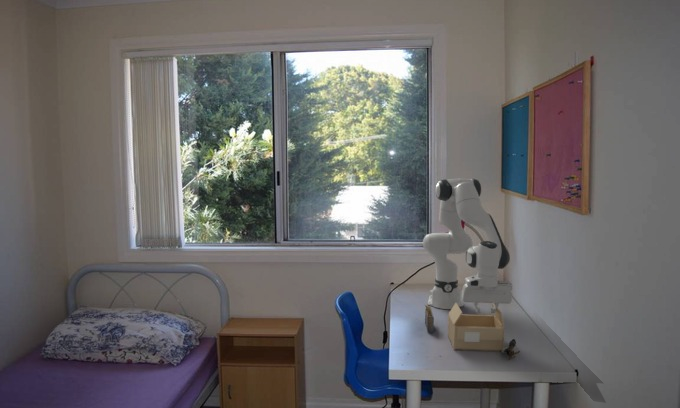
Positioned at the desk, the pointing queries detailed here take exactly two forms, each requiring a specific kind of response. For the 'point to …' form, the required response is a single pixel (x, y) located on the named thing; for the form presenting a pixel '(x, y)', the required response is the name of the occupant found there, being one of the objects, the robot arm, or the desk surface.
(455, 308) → the flap
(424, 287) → the desk surface
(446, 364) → the desk surface
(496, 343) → the carton
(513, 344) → the eagle figurine
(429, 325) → the miniature staircase model
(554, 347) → the desk surface
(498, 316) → the flap
